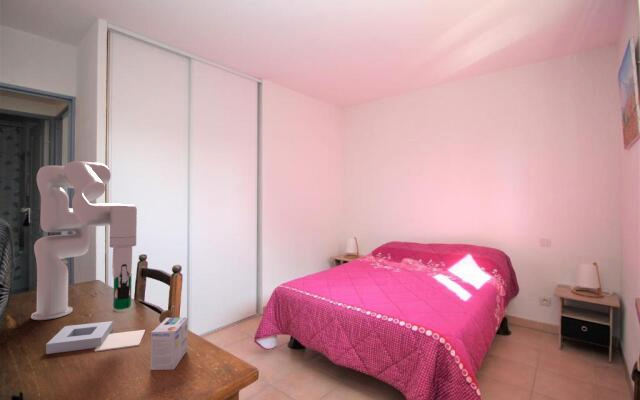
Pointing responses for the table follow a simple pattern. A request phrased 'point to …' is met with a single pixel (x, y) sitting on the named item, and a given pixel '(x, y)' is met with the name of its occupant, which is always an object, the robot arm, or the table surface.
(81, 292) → the table surface
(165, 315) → the snail figurine
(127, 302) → the soda can
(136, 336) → the mat
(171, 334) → the light bulb box
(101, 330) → the collar
